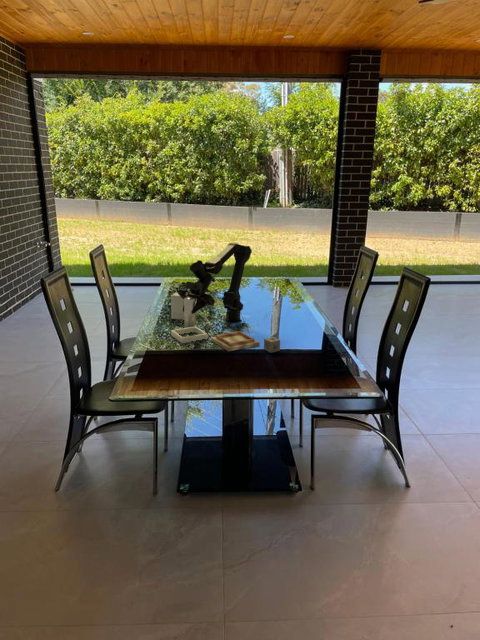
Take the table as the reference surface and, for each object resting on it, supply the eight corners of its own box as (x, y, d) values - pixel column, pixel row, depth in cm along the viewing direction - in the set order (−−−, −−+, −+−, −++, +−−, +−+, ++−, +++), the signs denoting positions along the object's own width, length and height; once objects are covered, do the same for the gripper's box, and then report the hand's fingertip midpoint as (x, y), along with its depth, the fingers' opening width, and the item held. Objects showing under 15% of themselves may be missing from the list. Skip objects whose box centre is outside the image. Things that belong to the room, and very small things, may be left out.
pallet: (241, 335, 240) (241, 329, 240) (259, 345, 227) (259, 339, 226) (211, 340, 233) (211, 334, 232) (228, 351, 220) (228, 345, 219)
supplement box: (184, 320, 263) (184, 296, 259) (171, 318, 264) (170, 295, 260) (189, 315, 270) (188, 292, 266) (175, 315, 271) (175, 292, 267)
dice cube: (279, 350, 221) (280, 340, 220) (270, 353, 219) (270, 342, 217) (273, 347, 225) (273, 336, 224) (263, 349, 223) (264, 338, 221)
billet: (192, 323, 238) (192, 296, 234) (197, 326, 234) (196, 298, 230) (182, 324, 236) (182, 297, 232) (187, 327, 231) (186, 300, 228)
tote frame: (195, 331, 245) (195, 326, 244) (207, 339, 235) (207, 333, 234) (171, 335, 239) (171, 330, 238) (182, 343, 229) (182, 338, 228)
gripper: (179, 271, 236) (163, 299, 231) (210, 277, 226) (195, 306, 220) (191, 285, 244) (176, 312, 239) (221, 291, 234) (206, 319, 229)
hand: (187, 312), depth 232 cm, fingers closed on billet, 5 cm apart
